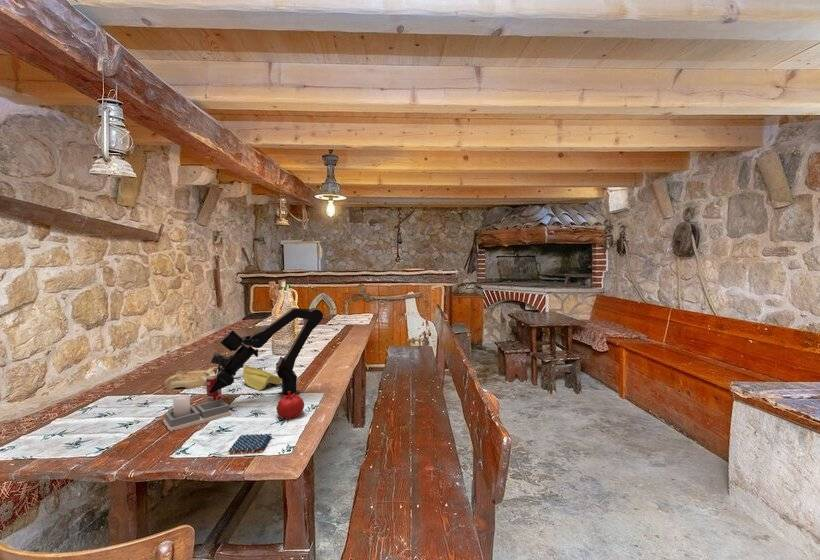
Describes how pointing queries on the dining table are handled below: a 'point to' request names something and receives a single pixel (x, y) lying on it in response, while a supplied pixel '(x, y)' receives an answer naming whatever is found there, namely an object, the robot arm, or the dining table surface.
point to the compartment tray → (194, 412)
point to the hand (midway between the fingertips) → (210, 388)
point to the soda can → (209, 383)
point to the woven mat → (250, 443)
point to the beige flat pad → (189, 379)
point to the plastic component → (259, 378)
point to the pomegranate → (290, 406)
